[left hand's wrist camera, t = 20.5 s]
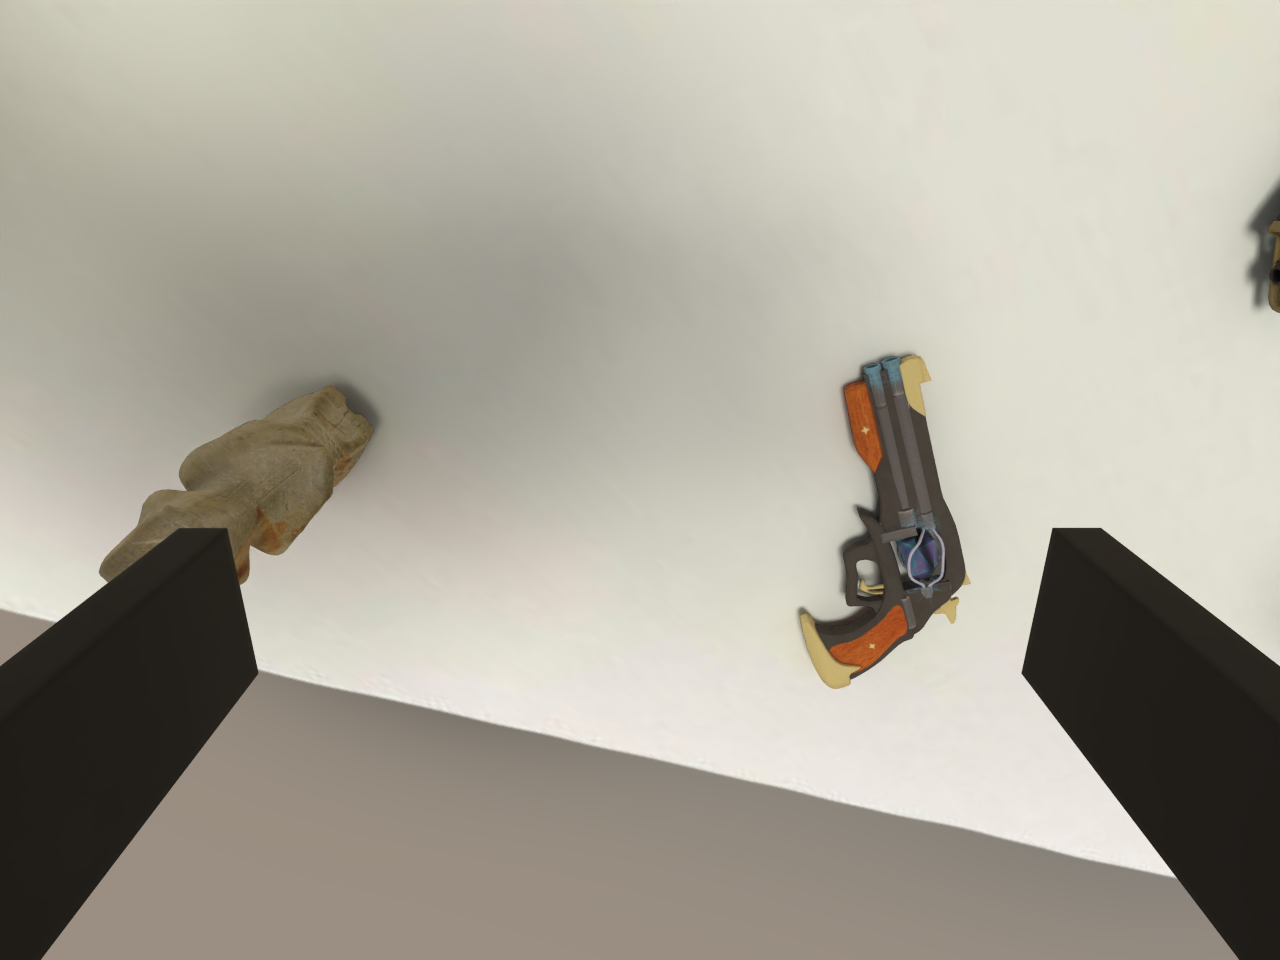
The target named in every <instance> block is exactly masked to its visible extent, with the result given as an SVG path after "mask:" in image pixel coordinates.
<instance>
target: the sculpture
mask: <svg viewBox="0 0 1280 960" xmlns="http://www.w3.org/2000/svg"><path fill="white" fill-rule="evenodd" d="M346 401H347V399H346V398H345V396H344V395H343V394H342V393H341V392H339V391H338V390H337V389H336V388H335V387H334V386H332V385H329V386H326V387H324V388H323V389H321V390H319V391H318V392H314V393H310V394H307V395H304V396H302V397H299V398H297V399H294V400H292V401H291V402H289V403H287V404H285V405H283V406H282V407H280V408H278V409H276V410H275V411H273V412H272V413H270V414H269V415H268V416H267V417H266V418H264V419H263V420H254V421H250V422H247V423H245V424H243V425H241V426H239V427H237V428H235V429H233V430H231V431H229V432H228V433H226V434H224V435H223V436H221V437H219V438H217V439H215V440H213V441H210V442H208V443H206V444H204V445H202V446H200V447H199V448H197V449H195V450H194V451H193V452H191V453H190V454H189V455H188V457H187V458H186V459H185V460H184V462H183V463H182V465H181V467H180V471H179V478H180V480H181V482H182V484H183V485H184V487H185V488H186V490H187V491H178V490H160V491H157V492H154V493H153V494H152V495H150V496H149V497H148V499H147V500H146V501H145V503H144V504H143V506H142V511H141V515H140V519H139V522H138V525H137V527H136V528H135V529H134V530H133V531H132V532H131V533H130V534H129V535H128V536H126V537H125V538H124V539H123V540H122V541H121V542H120V543H119V544H118V545H117V546H116V547H115V548H114V549H113V550H112V551H111V552H110V553H109V554H108V555H107V556H106V557H105V559H104V560H103V562H102V564H101V566H100V570H99V574H100V576H101V577H103V578H104V579H105V580H106V581H107V582H108V583H109V582H110V581H111V580H112V579H114V578H115V577H116V576H118V575H119V574H120V573H122V572H123V571H124V570H125V569H127V568H128V567H129V566H131V565H132V564H133V563H134V562H136V561H137V560H138V559H140V558H141V557H142V556H144V555H145V554H146V553H147V552H149V551H150V550H151V549H153V548H154V547H155V546H156V545H158V544H159V543H160V542H162V541H163V540H164V539H166V538H167V537H168V536H169V535H171V534H172V533H173V532H175V531H176V530H177V529H178V528H227V529H228V533H229V538H230V543H231V547H232V552H233V557H234V561H235V566H236V571H237V576H238V580H239V585H241V584H243V583H244V582H245V581H246V580H247V578H248V576H249V570H250V566H249V549H250V545H251V546H253V547H255V548H257V549H258V550H260V551H262V552H264V553H267V554H270V555H280V554H282V553H283V552H285V551H286V550H287V549H288V547H289V546H290V545H291V543H292V542H293V541H294V540H295V538H296V537H297V536H298V535H299V534H300V533H301V532H302V531H303V530H304V528H305V527H306V525H307V524H308V523H309V521H310V520H311V519H312V518H313V516H314V515H315V514H316V513H317V512H318V511H319V510H320V509H321V507H322V506H323V505H324V503H325V502H326V501H327V500H328V499H329V498H330V497H331V495H332V493H333V487H335V486H336V485H337V484H338V483H339V482H340V481H341V480H342V479H343V478H344V477H345V476H346V475H347V474H348V473H349V471H350V470H351V469H352V468H353V466H354V465H355V463H356V462H357V460H358V459H359V457H360V456H361V454H362V452H363V450H364V448H365V446H366V444H367V442H368V441H369V439H370V438H371V436H372V434H373V428H372V427H371V425H370V424H369V423H368V421H367V420H366V419H365V418H364V417H363V416H362V415H360V414H353V413H352V412H351V411H350V410H349V409H348V408H347V407H346Z"/></svg>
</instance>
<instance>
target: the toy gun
mask: <svg viewBox="0 0 1280 960" xmlns="http://www.w3.org/2000/svg"><path fill="white" fill-rule="evenodd" d="M881 363H882V367H883V368H882V367H881V364H879V363H876V364H871V365H868V366H866V367H864V368H863V369H864V373H862V374H863V379H864V380H863V381H859V382H856V383H852V384H849V385H848V386H846V387H845V388H844V392H845V398H846V403H847V409H848V414H849V419H850V424H851V429H852V433H853V438H854V443H855V446H856V449H857V451H858V453H859V455H860V456H861V457H862V459H863V460H864V461H865V462H866V464H867V465H868V466H869V467H870V469H871V470H872V471H873V472H874V476H875V480H876V484H877V488H878V492H879V500H880V509H879V516H878V517H877V516H876V515H874V514H872V513H870V512H868V511H866V510H863V509H860V508H858V509H857V510H858V513H859V516H860V518H861V520H862V521H863V522H864V524H865V525H866V527H867V528H868V530H869V532H870V535H871V536H870V537H869V538H868V539H867V540H865V541H861V542H856V543H854V544H852V545H850V546H849V547H848V548H847V549H846V550H845V552H844V554H843V558H844V562H845V566H846V571H847V586H846V595H845V598H846V603H847V605H848V606H868V607H871V608H873V609H872V610H871V611H870V612H868V613H867V614H866V615H864V616H863V617H861V618H860V619H858V620H856V621H855V622H853V623H851V624H848V625H845V626H834V627H826V626H821V625H819V624H816V623H815V621H814V620H813V619H812V617H811V616H810V615H809V614H803V615H801V616H800V620H801V625H802V629H803V633H804V637H805V641H806V644H807V648H808V651H809V654H810V657H811V660H812V662H813V665H814V667H815V669H816V671H817V673H818V675H819V676H820V678H821V679H822V681H823V682H824V683H825V684H826V685H827V686H829V687H831V688H833V689H838V688H842V687H846V686H848V685H850V683H851V679H853V678H855V677H857V676H859V675H860V674H862V673H864V672H866V671H867V670H869V669H870V668H872V667H873V666H875V665H876V664H877V663H879V662H880V661H881V660H882V659H884V658H885V657H886V656H887V655H888V654H889V653H890V652H891V651H892V650H893V649H895V648H896V647H897V646H898V645H899V644H901V643H902V642H904V641H907V640H909V639H912V638H913V636H914V634H916V633H917V632H919V631H920V630H921V629H922V628H923V627H924V625H925V624H926V622H927V621H928V619H929V618H930V616H931V615H932V614H933V613H934V614H938V613H944V614H946V616H947V617H948V619H949V621H950V622H951V624H953V623H954V621H955V620H956V606H957V605H958V602H959V599H958V597H954V598H951V596H952V595H953V594H954V593H955V592H956V591H957V590H958V589H959V588H960V587H961V586H962V585H966V584H970V580H969V578H968V576H967V573H966V571H965V564H964V559H963V554H962V549H961V545H960V540H959V536H958V532H957V529H956V525H955V523H954V520H953V518H952V515H951V513H950V511H949V509H948V507H947V505H946V503H945V501H944V499H943V496H942V492H941V488H940V483H939V478H938V474H937V469H936V464H935V460H934V455H933V450H932V446H931V441H930V437H929V432H928V427H927V422H926V414H925V408H924V403H923V398H922V393H921V388H920V383H923V382H927V381H930V380H931V378H930V376H929V373H928V371H927V368H926V366H925V363H924V361H923V359H922V358H921V357H920V356H919V357H917V356H916V355H912V356H908V357H905V358H903V359H901V360H900V357H898V356H896V357H890V358H886V359H884V360H882V361H881ZM920 528H922V529H920ZM934 528H936V529H937V531H938V533H939V534H938V533H937V532H936V531H935V529H934ZM927 529H932V531H933V532H934V534H935V535H936V536H937V538H938V539H939V541H940V543H941V547H942V563H941V574H940V575H935V576H932V574H933V572H934V570H935V568H936V566H937V564H938V562H939V560H940V555H939V552H938V549H937V546H936V543H935V540H934V539H933V537H932V536H931V534H930V533H929V532H928V530H927ZM895 540H896V542H897V544H898V547H899V549H898V555H899V558H900V561H901V563H902V565H903V566H904V567H905V569H906V570H907V571H908V575H909V578H910V579H911V580H912V581H907V582H903V583H902V580H901V576H900V571H899V568H898V564H897V561H896V557H895V554H894V552H893V549H892V546H891V544H890V541H895ZM901 554H902V556H901ZM902 557H903V559H904V561H903V559H902ZM865 559H866V560H870V561H874V562H876V563H878V564H879V567H880V571H881V575H882V580H883V584H878V585H871V586H868V585H866V584H865V582H864V580H863V579H861V581H860V585H859V588H860V590H862V591H864V592H867V593H870V594H881V595H877V596H872V597H864V596H860V595H857V584H858V573H857V568H856V563H857V562H858V561H860V560H865ZM904 562H905V563H904ZM913 577H914V578H917V579H916V580H915V579H914V578H913ZM881 588H882V590H880V591H870V589H881ZM950 598H951V599H950Z"/></svg>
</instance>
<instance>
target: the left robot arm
mask: <svg viewBox="0 0 1280 960" xmlns="http://www.w3.org/2000/svg"><path fill="white" fill-rule="evenodd" d="M257 675H258V669H257V664H256V660H255V655H254V650H253V646H252V641H251V636H250V632H249V627H248V622H247V618H246V613H245V608H244V604H243V599H242V594H241V590H240V585H239V580H238V576H237V571H236V566H235V561H234V557H233V552H232V547H231V543H230V538H229V533H228V529H227V528H178V529H177V530H176V531H175V532H173V533H172V534H171V535H169V536H168V537H167V538H166V539H164V540H163V541H162V542H160V543H159V544H158V545H156V546H155V547H154V548H153V549H151V550H150V551H149V552H147V553H146V554H145V555H144V556H142V557H141V558H140V559H138V560H137V561H136V562H134V563H133V564H132V565H131V566H129V567H128V568H127V569H125V570H124V571H123V572H122V573H120V574H119V575H118V576H116V577H115V578H114V579H112V580H111V581H110V582H109V583H107V584H106V585H105V586H103V587H102V588H101V589H100V590H98V591H97V592H96V593H94V594H93V595H92V596H91V597H89V598H88V599H87V600H85V601H84V602H83V603H81V604H80V605H79V606H78V607H76V608H75V609H74V610H72V611H71V612H70V613H69V614H67V615H66V616H65V617H63V618H62V619H61V620H59V621H58V622H57V623H56V624H54V625H53V626H52V627H50V628H49V629H48V630H47V631H45V632H44V633H43V634H41V635H40V636H39V637H37V638H36V639H35V640H34V641H32V642H31V643H30V644H28V645H27V646H26V647H25V648H23V649H22V650H21V651H19V652H18V653H17V654H16V655H14V656H13V657H12V658H10V659H9V660H8V661H6V662H5V663H4V664H3V665H1V666H0V960H41V959H42V957H43V956H44V955H45V953H46V952H47V951H48V949H49V948H50V947H51V945H52V944H53V943H54V942H55V940H56V939H57V938H58V936H59V935H60V934H61V932H62V931H63V930H64V928H65V927H66V926H67V924H68V923H69V922H70V921H71V919H72V918H73V917H74V915H75V914H76V913H77V911H78V910H79V909H80V907H81V906H82V905H83V903H84V902H85V901H86V900H87V898H88V897H89V896H90V894H91V893H92V892H93V890H94V889H95V888H96V886H97V885H98V884H99V882H100V881H101V880H102V878H103V877H104V876H105V875H106V873H107V872H108V871H109V869H110V868H111V867H112V865H113V864H114V863H115V861H116V860H117V859H118V857H119V856H120V855H121V853H122V852H123V851H124V850H125V848H126V847H127V846H128V844H129V843H130V842H131V840H132V839H133V838H134V836H135V835H136V834H137V832H138V831H139V830H140V829H141V827H142V826H143V825H144V823H145V822H146V821H147V819H148V818H149V817H150V815H151V814H152V813H153V811H154V810H155V809H156V807H157V806H158V805H159V804H160V802H161V801H162V800H163V798H164V797H165V796H166V794H167V793H168V792H169V790H170V789H171V788H172V786H173V785H174V784H175V783H176V781H177V780H178V779H179V777H180V776H181V775H182V773H183V772H184V771H185V769H186V768H187V767H188V765H189V764H190V763H191V761H192V760H193V759H194V758H195V756H196V755H197V754H198V752H199V751H200V750H201V748H202V747H203V746H204V744H205V743H206V742H207V740H208V739H209V738H210V736H211V735H212V734H213V733H214V731H215V730H216V729H217V727H218V726H219V725H220V723H221V722H222V721H223V719H224V718H225V717H226V715H227V714H228V713H229V712H230V710H231V709H232V708H233V706H234V705H235V704H236V702H237V701H238V700H239V698H240V697H241V696H242V694H243V693H244V692H245V690H246V689H247V688H248V687H249V685H250V684H251V683H252V681H253V680H254V679H255V677H256V676H257ZM1022 675H1023V676H1024V677H1025V679H1026V680H1027V681H1028V683H1029V684H1030V685H1031V687H1032V688H1033V689H1034V690H1035V692H1036V693H1037V694H1038V696H1039V697H1040V698H1041V700H1042V701H1043V702H1044V704H1045V705H1046V706H1047V708H1048V709H1049V710H1050V712H1051V713H1052V714H1053V715H1054V717H1055V718H1056V719H1057V721H1058V722H1059V723H1060V725H1061V726H1062V727H1063V729H1064V730H1065V731H1066V733H1067V734H1068V735H1069V736H1070V738H1071V739H1072V740H1073V742H1074V743H1075V744H1076V746H1077V747H1078V748H1079V750H1080V751H1081V752H1082V754H1083V755H1084V756H1085V758H1086V759H1087V760H1088V761H1089V763H1090V764H1091V765H1092V767H1093V768H1094V769H1095V771H1096V772H1097V773H1098V775H1099V776H1100V777H1101V779H1102V780H1103V781H1104V783H1105V784H1106V785H1107V786H1108V788H1109V789H1110V790H1111V792H1112V793H1113V794H1114V796H1115V797H1116V798H1117V800H1118V801H1119V802H1120V804H1121V805H1122V806H1123V807H1124V809H1125V810H1126V811H1127V813H1128V814H1129V815H1130V817H1131V818H1132V819H1133V821H1134V822H1135V823H1136V825H1137V826H1138V827H1139V829H1140V830H1141V831H1142V832H1143V834H1144V835H1145V836H1146V838H1147V839H1148V840H1149V842H1150V843H1151V844H1152V846H1153V847H1154V848H1155V850H1156V851H1157V852H1158V854H1159V855H1160V856H1161V857H1162V859H1163V860H1164V861H1165V863H1166V864H1167V865H1168V867H1169V868H1170V869H1171V871H1172V872H1173V873H1174V875H1175V876H1176V877H1177V878H1178V880H1179V881H1180V882H1181V884H1182V885H1183V886H1184V888H1185V889H1186V890H1187V892H1188V893H1189V894H1190V896H1191V897H1192V898H1193V900H1194V901H1195V902H1196V903H1197V905H1198V906H1199V907H1200V909H1201V910H1202V911H1203V913H1204V914H1205V915H1206V917H1207V918H1208V919H1209V921H1210V922H1211V923H1212V924H1213V926H1214V927H1215V928H1216V930H1217V931H1218V932H1219V934H1220V935H1221V936H1222V938H1223V939H1224V940H1225V942H1226V943H1227V944H1228V945H1229V947H1230V948H1231V949H1232V951H1233V952H1234V953H1235V955H1236V956H1237V957H1238V959H1239V960H1280V666H1279V665H1277V664H1276V663H1275V662H1274V661H1272V660H1271V659H1270V658H1268V657H1267V656H1266V655H1265V654H1263V653H1262V652H1261V651H1259V650H1258V649H1257V648H1255V647H1254V646H1253V645H1252V644H1250V643H1249V642H1248V641H1246V640H1245V639H1244V638H1243V637H1241V636H1240V635H1239V634H1237V633H1236V632H1235V631H1233V630H1232V629H1231V628H1230V627H1228V626H1227V625H1226V624H1224V623H1223V622H1222V621H1221V620H1219V619H1218V618H1217V617H1215V616H1214V615H1213V614H1211V613H1210V612H1209V611H1208V610H1206V609H1205V608H1204V607H1202V606H1201V605H1200V604H1199V603H1197V602H1196V601H1195V600H1193V599H1192V598H1191V597H1189V596H1188V595H1187V594H1186V593H1184V592H1183V591H1182V590H1180V589H1179V588H1178V587H1177V586H1175V585H1174V584H1173V583H1171V582H1170V581H1169V580H1167V579H1166V578H1165V577H1164V576H1162V575H1161V574H1160V573H1158V572H1157V571H1156V570H1155V569H1153V568H1152V567H1151V566H1149V565H1148V564H1147V563H1146V562H1144V561H1143V560H1142V559H1140V558H1139V557H1138V556H1136V555H1135V554H1134V553H1133V552H1131V551H1130V550H1129V549H1127V548H1126V547H1125V546H1124V545H1122V544H1121V543H1120V542H1118V541H1117V540H1116V539H1114V538H1113V537H1112V536H1111V535H1109V534H1108V533H1107V532H1105V531H1104V530H1103V529H1102V528H1053V529H1052V533H1051V538H1050V543H1049V547H1048V552H1047V557H1046V561H1045V566H1044V571H1043V576H1042V580H1041V585H1040V590H1039V594H1038V599H1037V604H1036V608H1035V613H1034V618H1033V622H1032V627H1031V632H1030V636H1029V641H1028V646H1027V650H1026V655H1025V660H1024V664H1023V669H1022Z"/></svg>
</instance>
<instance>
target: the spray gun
mask: <svg viewBox="0 0 1280 960" xmlns="http://www.w3.org/2000/svg"><path fill="white" fill-rule="evenodd" d="M1267 231H1268V232H1269V233H1270V234H1272V235H1273V236H1275V237H1276V242H1275V250H1274V258H1273V266H1272V270H1271V272H1270V280H1271V282H1270V290H1269V305H1270V306H1271V308H1272V309H1273V310H1274V311H1276V312H1278V313H1280V296H1279V295H1280V215H1279V216H1278V217H1277V221H1273V223H1272V224H1271V225H1270V227H1269V228H1268V230H1267Z"/></svg>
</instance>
